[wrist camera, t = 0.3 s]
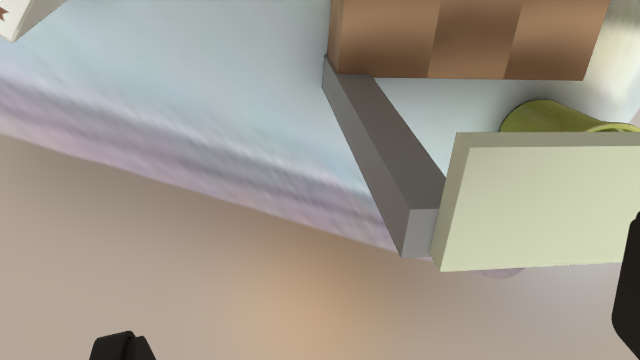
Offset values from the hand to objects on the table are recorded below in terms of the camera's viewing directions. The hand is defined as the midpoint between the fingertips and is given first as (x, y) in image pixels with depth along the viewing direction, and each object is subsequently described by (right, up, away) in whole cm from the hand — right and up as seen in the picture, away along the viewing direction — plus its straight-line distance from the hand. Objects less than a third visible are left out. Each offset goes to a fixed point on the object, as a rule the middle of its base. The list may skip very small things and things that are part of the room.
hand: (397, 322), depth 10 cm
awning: (+7, +12, +28) cm, 32 cm away
